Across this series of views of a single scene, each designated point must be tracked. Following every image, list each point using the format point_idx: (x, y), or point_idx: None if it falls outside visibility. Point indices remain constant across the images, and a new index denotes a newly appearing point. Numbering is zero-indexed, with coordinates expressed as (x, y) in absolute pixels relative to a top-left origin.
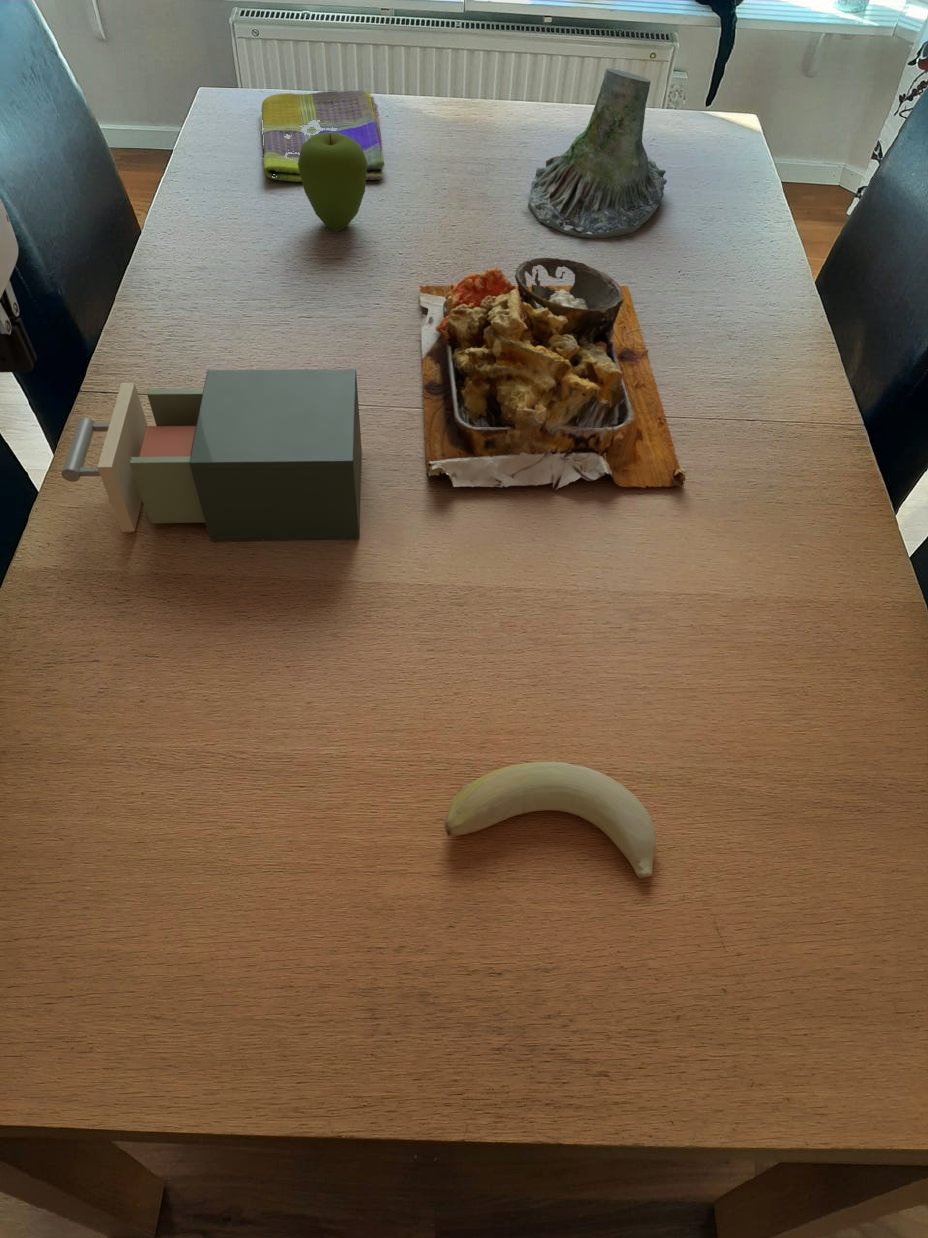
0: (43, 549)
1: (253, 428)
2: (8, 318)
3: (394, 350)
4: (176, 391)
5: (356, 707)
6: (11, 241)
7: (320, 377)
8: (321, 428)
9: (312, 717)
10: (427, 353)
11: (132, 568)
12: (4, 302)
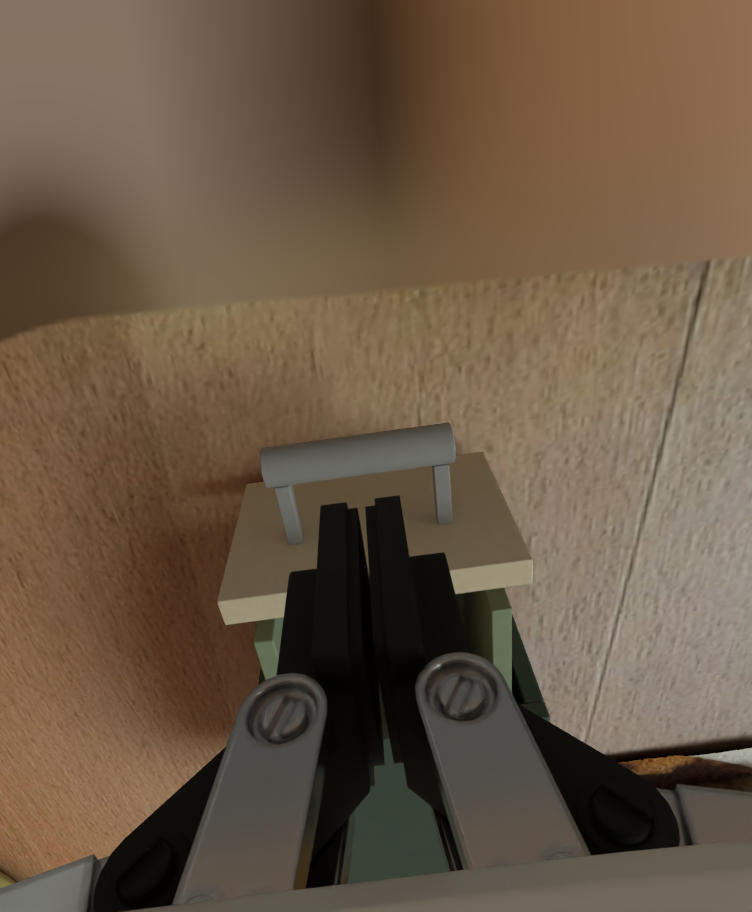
0: (184, 341)
1: (366, 808)
2: (352, 840)
3: (727, 713)
4: (501, 656)
5: (48, 774)
6: None
7: None
8: (379, 870)
9: (14, 746)
10: (700, 757)
11: (183, 505)
12: (446, 851)
